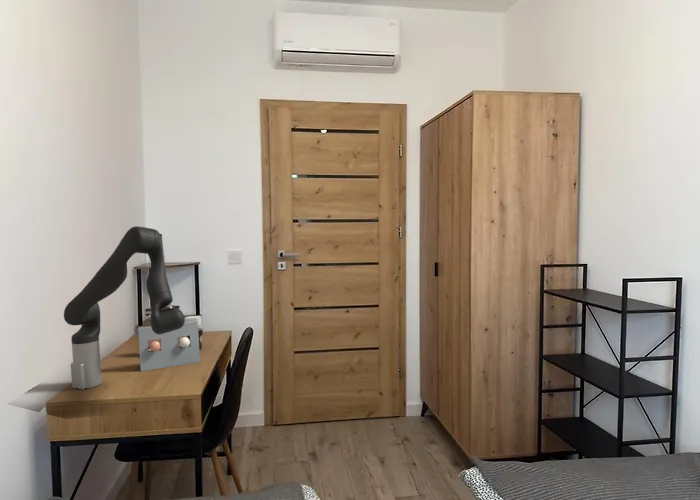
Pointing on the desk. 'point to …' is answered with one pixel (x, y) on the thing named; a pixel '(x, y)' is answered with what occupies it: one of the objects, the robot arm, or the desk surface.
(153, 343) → the terracotta button
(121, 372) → the desk surface
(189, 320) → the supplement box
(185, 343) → the cream button
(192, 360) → the panel
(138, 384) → the desk surface
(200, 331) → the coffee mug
